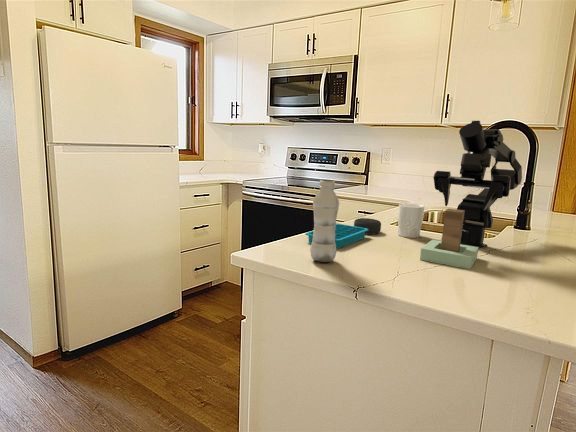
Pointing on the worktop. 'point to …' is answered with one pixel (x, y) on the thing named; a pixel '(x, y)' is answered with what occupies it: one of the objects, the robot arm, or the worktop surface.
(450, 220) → the brown square peg
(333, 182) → the plastic bottle
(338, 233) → the ice cube tray
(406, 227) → the white cup
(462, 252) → the green square hole base
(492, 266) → the worktop surface
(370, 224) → the smart speaker
